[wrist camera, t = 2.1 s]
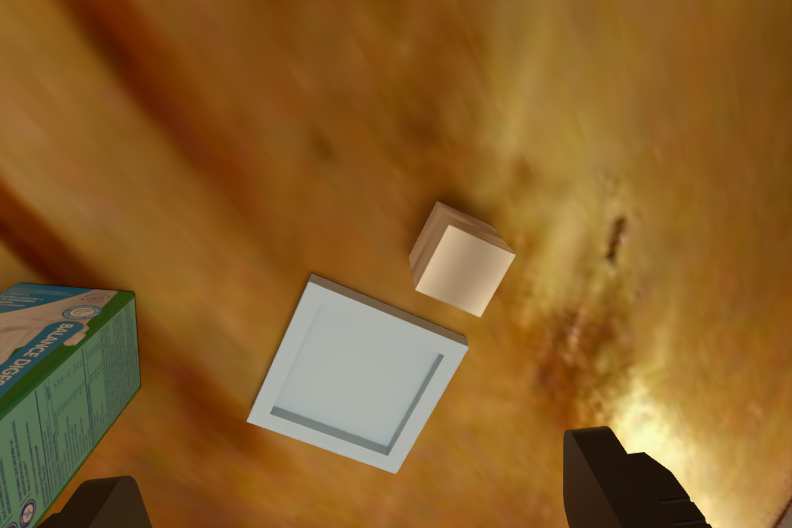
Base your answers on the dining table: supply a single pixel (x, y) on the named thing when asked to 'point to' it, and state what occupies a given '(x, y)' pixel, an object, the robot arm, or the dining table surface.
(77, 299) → the milk carton
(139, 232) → the dining table surface
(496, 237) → the maple block
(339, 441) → the tray
